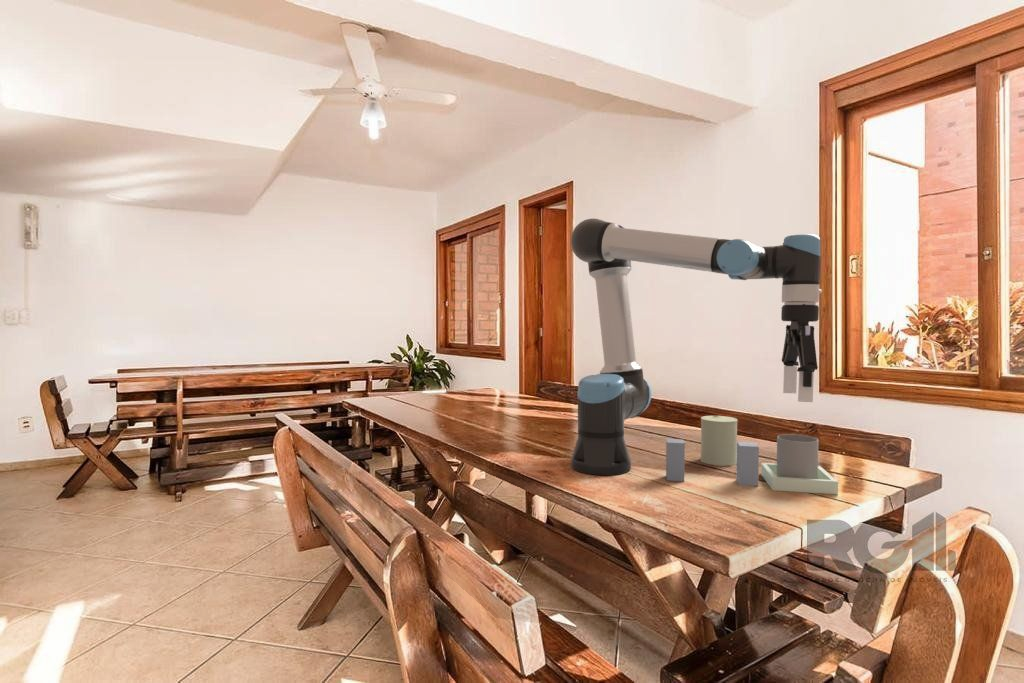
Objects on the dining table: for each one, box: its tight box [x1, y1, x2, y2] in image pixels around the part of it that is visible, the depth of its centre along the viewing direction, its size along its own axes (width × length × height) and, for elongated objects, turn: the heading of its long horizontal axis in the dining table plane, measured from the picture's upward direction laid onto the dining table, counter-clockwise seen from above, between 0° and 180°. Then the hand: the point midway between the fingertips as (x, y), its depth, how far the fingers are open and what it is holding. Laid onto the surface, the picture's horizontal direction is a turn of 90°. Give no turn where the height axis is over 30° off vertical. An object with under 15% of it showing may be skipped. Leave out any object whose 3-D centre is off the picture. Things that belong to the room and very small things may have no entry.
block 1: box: [665, 438, 686, 482], centre depth 131 cm, size 4×4×9 cm
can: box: [700, 415, 738, 467], centre depth 147 cm, size 9×9×12 cm
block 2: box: [736, 441, 760, 487], centre depth 128 cm, size 4×4×9 cm
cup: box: [776, 433, 820, 479], centre depth 127 cm, size 8×8×10 cm
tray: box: [760, 462, 839, 495], centre depth 127 cm, size 13×13×3 cm
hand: (797, 397), depth 126 cm, fingers open, 13 cm apart
